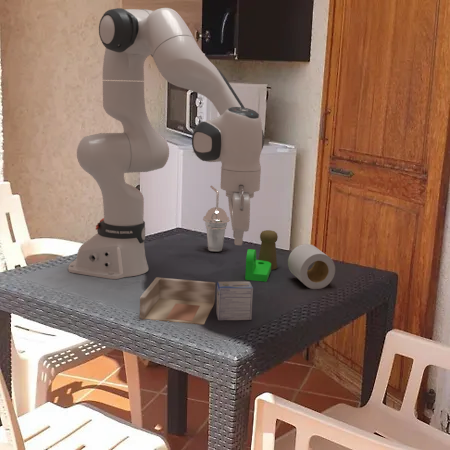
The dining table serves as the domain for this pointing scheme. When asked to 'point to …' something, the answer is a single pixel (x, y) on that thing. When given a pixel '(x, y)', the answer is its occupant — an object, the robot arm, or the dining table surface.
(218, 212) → the cup with straw
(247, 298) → the medicine box
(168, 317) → the arena
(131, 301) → the dining table surface
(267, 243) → the cork
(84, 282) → the dining table surface
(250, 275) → the mechanical part
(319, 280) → the toilet paper
